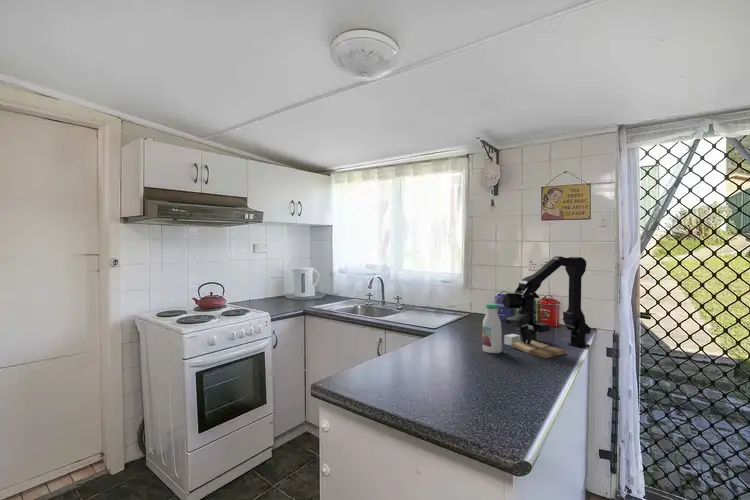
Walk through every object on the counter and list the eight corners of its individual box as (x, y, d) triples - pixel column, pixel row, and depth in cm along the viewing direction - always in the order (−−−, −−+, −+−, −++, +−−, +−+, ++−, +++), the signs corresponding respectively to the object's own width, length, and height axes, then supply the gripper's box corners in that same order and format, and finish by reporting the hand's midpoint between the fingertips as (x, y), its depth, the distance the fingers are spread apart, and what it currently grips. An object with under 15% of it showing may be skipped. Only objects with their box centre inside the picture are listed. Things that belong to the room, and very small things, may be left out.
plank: (531, 342, 161) (531, 339, 161) (548, 349, 153) (549, 345, 153) (511, 346, 155) (511, 343, 155) (528, 353, 147) (528, 349, 147)
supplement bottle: (536, 343, 163) (535, 317, 163) (520, 341, 167) (520, 315, 167) (539, 340, 168) (539, 315, 168) (524, 338, 172) (524, 313, 172)
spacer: (512, 342, 165) (512, 333, 165) (520, 344, 162) (520, 335, 162) (504, 344, 162) (504, 335, 162) (511, 346, 158) (511, 337, 158)
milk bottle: (499, 348, 154) (498, 303, 154) (503, 354, 146) (503, 305, 146) (480, 348, 154) (480, 302, 154) (484, 353, 147) (484, 305, 147)
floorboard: (550, 349, 152) (550, 346, 152) (565, 353, 146) (565, 350, 146) (529, 353, 146) (529, 350, 146) (544, 358, 140) (544, 354, 140)
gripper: (497, 305, 160) (497, 340, 160) (533, 313, 143) (532, 351, 144) (515, 304, 165) (514, 337, 165) (551, 311, 148) (550, 348, 149)
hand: (526, 343), depth 156 cm, fingers closed on plank, 2 cm apart
